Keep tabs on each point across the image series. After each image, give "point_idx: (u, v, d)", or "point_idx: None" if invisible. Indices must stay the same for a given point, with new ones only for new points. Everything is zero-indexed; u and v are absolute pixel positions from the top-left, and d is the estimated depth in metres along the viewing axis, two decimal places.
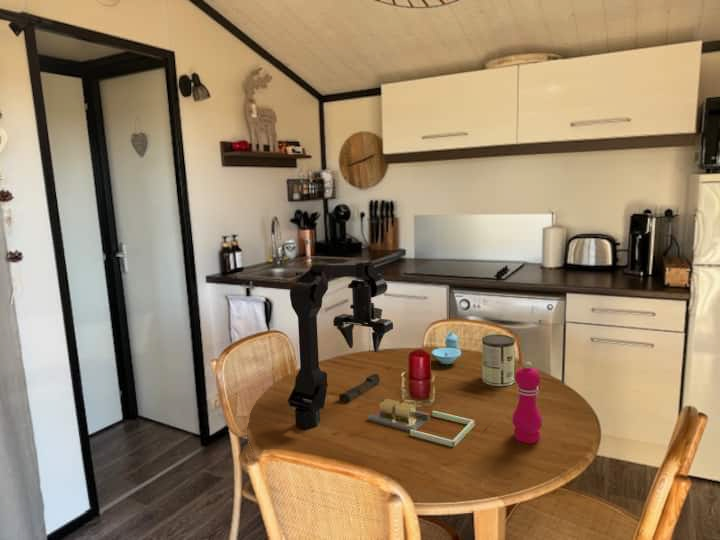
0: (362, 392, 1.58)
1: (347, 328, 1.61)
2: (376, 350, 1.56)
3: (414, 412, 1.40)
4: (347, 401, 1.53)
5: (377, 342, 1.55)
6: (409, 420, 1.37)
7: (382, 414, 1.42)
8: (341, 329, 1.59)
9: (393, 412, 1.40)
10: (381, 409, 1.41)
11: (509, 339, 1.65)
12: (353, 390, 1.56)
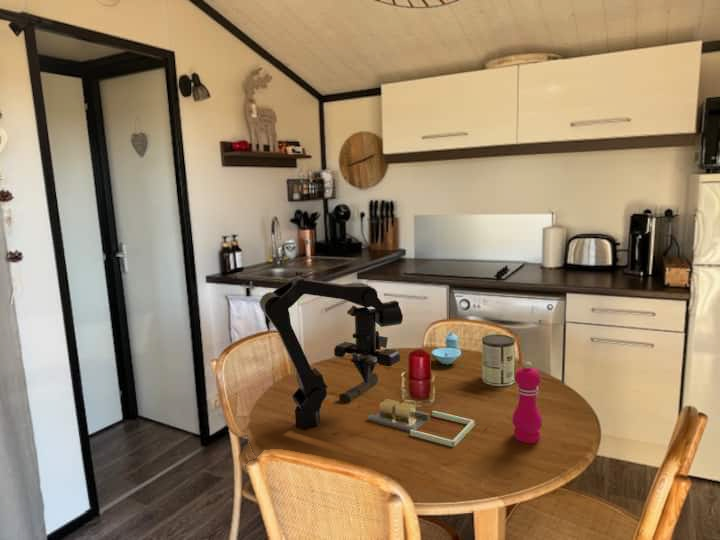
0: (362, 392, 1.59)
1: (362, 361, 1.44)
2: (368, 381, 1.44)
3: (414, 412, 1.40)
4: (347, 401, 1.53)
5: (369, 372, 1.43)
6: (409, 420, 1.37)
7: (382, 414, 1.42)
8: (355, 362, 1.43)
9: (393, 412, 1.40)
10: (381, 409, 1.41)
11: (509, 339, 1.65)
12: (353, 390, 1.56)
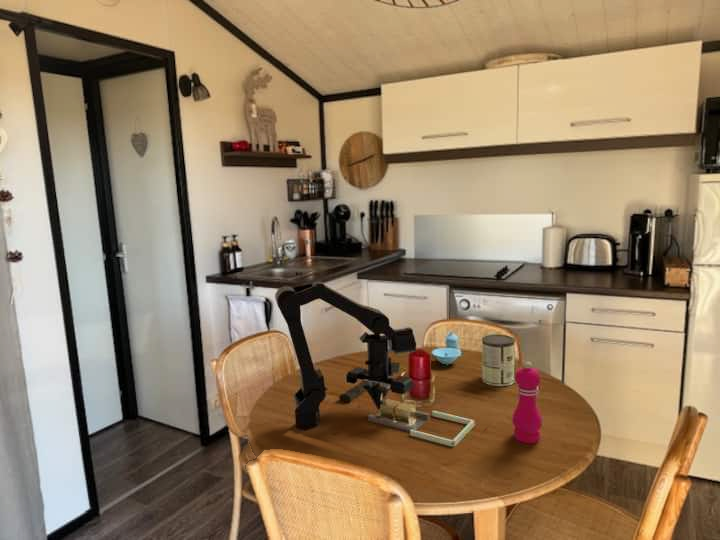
0: (361, 392, 1.59)
1: (375, 387, 1.43)
2: (380, 407, 1.44)
3: (414, 412, 1.40)
4: (348, 401, 1.53)
5: (381, 399, 1.42)
6: (409, 420, 1.37)
7: (383, 414, 1.41)
8: (368, 389, 1.42)
9: (394, 412, 1.40)
10: (382, 409, 1.41)
11: (509, 339, 1.65)
12: (353, 390, 1.56)
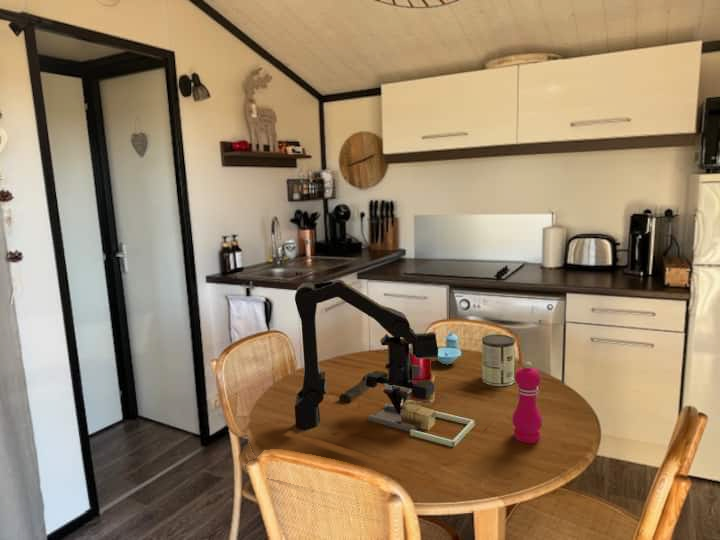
0: (361, 392, 1.59)
1: (395, 392, 1.39)
2: (400, 412, 1.40)
3: (434, 417, 1.36)
4: (348, 401, 1.53)
5: (402, 404, 1.39)
6: (429, 426, 1.34)
7: (404, 419, 1.38)
8: (389, 393, 1.38)
9: None
10: (402, 414, 1.38)
11: (509, 339, 1.65)
12: (353, 390, 1.56)
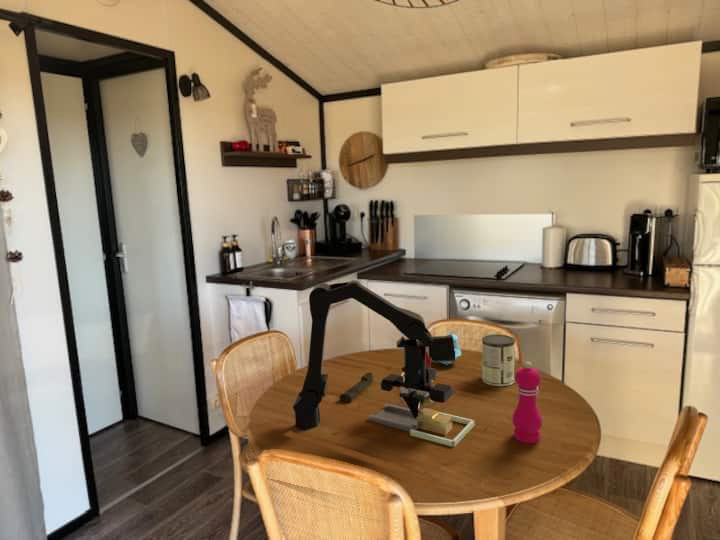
0: (360, 391, 1.59)
1: (411, 395, 1.36)
2: (417, 416, 1.37)
3: (451, 424, 1.34)
4: (348, 401, 1.53)
5: (419, 407, 1.36)
6: (446, 433, 1.32)
7: (420, 423, 1.35)
8: (405, 397, 1.35)
9: None
10: (419, 419, 1.35)
11: (509, 339, 1.65)
12: (352, 390, 1.56)
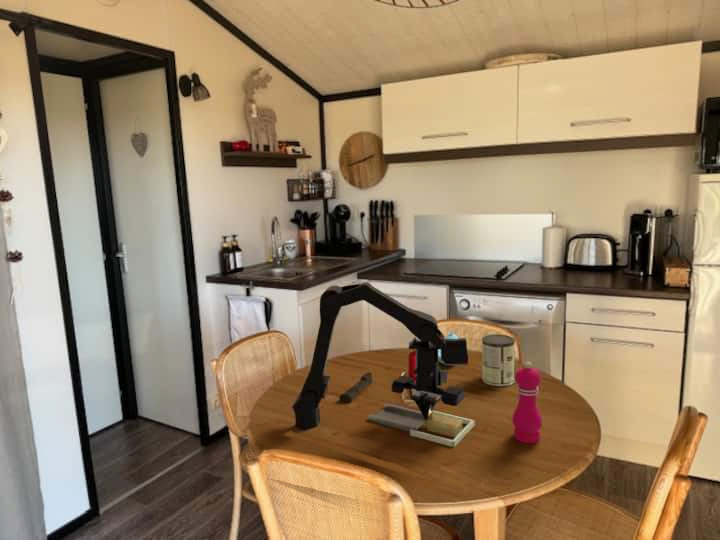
0: (360, 391, 1.59)
1: (423, 398, 1.35)
2: None
3: (461, 427, 1.32)
4: (349, 401, 1.53)
5: (430, 410, 1.34)
6: None
7: (430, 429, 1.34)
8: (416, 400, 1.33)
9: None
10: (429, 424, 1.33)
11: (509, 339, 1.65)
12: (352, 390, 1.56)
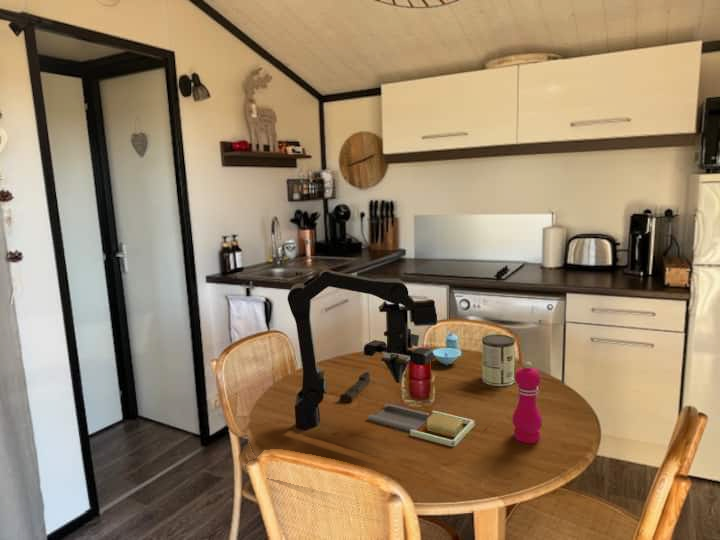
0: (359, 391, 1.59)
1: (393, 360, 1.38)
2: (399, 380, 1.39)
3: (461, 427, 1.32)
4: (349, 401, 1.53)
5: (400, 372, 1.37)
6: None
7: (430, 429, 1.34)
8: (387, 361, 1.37)
9: None
10: (429, 424, 1.33)
11: (509, 339, 1.65)
12: (352, 390, 1.56)
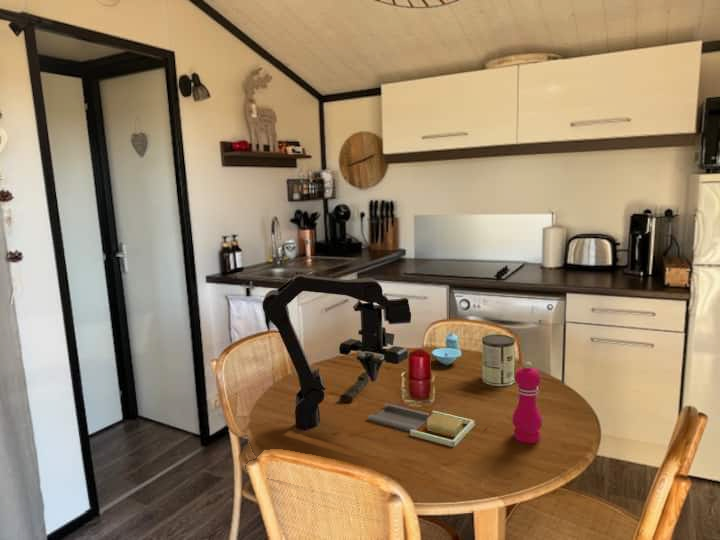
0: (359, 391, 1.59)
1: (368, 358, 1.39)
2: (374, 379, 1.39)
3: (461, 427, 1.32)
4: (349, 401, 1.53)
5: (375, 370, 1.38)
6: None
7: (430, 429, 1.34)
8: (361, 360, 1.38)
9: None
10: (429, 424, 1.33)
11: (509, 339, 1.65)
12: (352, 390, 1.56)
